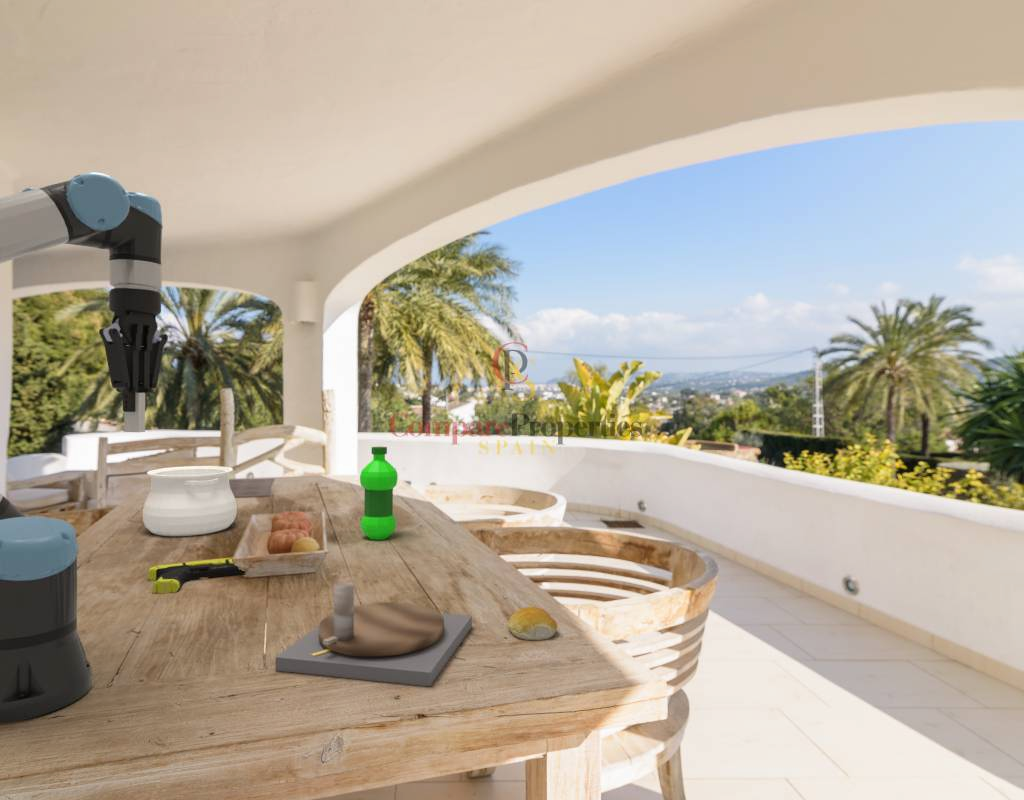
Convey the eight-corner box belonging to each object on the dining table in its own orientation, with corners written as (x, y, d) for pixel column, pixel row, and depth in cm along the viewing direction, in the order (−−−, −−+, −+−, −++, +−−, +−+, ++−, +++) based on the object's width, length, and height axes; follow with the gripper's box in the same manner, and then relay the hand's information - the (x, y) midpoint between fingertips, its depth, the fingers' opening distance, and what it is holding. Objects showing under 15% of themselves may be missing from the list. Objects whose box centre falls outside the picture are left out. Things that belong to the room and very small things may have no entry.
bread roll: (547, 621, 123) (547, 599, 123) (561, 639, 114) (562, 616, 114) (503, 624, 121) (503, 602, 121) (514, 643, 112) (514, 619, 112)
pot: (132, 527, 195) (132, 469, 194) (219, 516, 211) (219, 463, 211) (156, 543, 176) (156, 479, 175) (250, 530, 192) (250, 472, 192)
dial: (384, 603, 123) (385, 551, 123) (468, 627, 112) (469, 571, 111) (284, 638, 106) (284, 578, 106) (371, 671, 94) (371, 604, 94)
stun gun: (251, 572, 143) (242, 555, 156) (148, 583, 133) (148, 564, 147) (250, 585, 143) (242, 568, 156) (148, 597, 134) (148, 577, 147)
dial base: (430, 686, 95) (430, 671, 95) (275, 670, 100) (275, 655, 100) (471, 626, 119) (472, 614, 119) (345, 616, 124) (345, 604, 124)
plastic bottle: (390, 542, 180) (391, 449, 179) (353, 540, 182) (354, 448, 181) (402, 534, 190) (403, 446, 189) (367, 532, 192) (367, 445, 191)
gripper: (144, 295, 118) (143, 428, 119) (84, 283, 106) (83, 433, 106) (182, 294, 117) (181, 430, 117) (125, 283, 104) (124, 435, 105)
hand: (134, 431), depth 112 cm, fingers closed
